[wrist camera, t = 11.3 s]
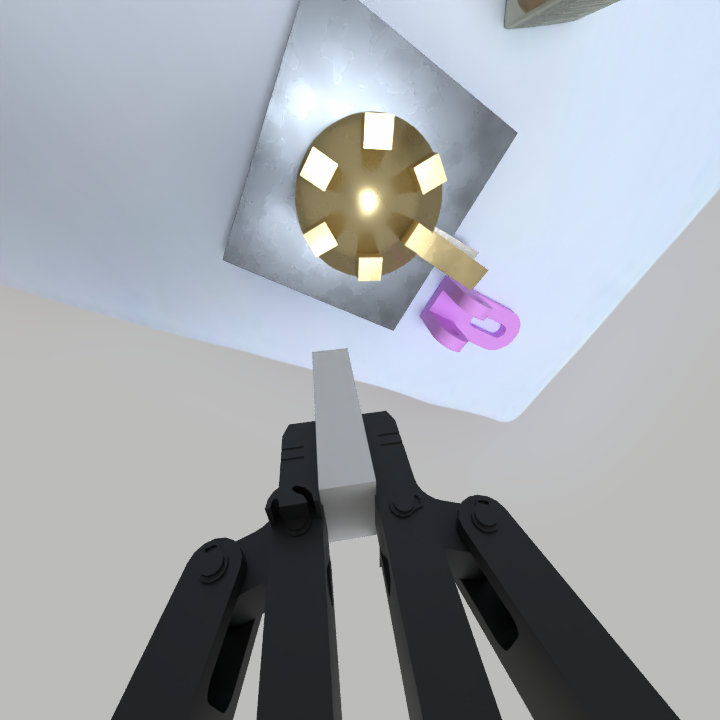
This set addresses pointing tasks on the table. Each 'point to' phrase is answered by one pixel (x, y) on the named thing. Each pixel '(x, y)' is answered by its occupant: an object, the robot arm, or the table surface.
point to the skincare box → (549, 11)
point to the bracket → (467, 318)
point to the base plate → (333, 102)
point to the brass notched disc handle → (376, 200)
